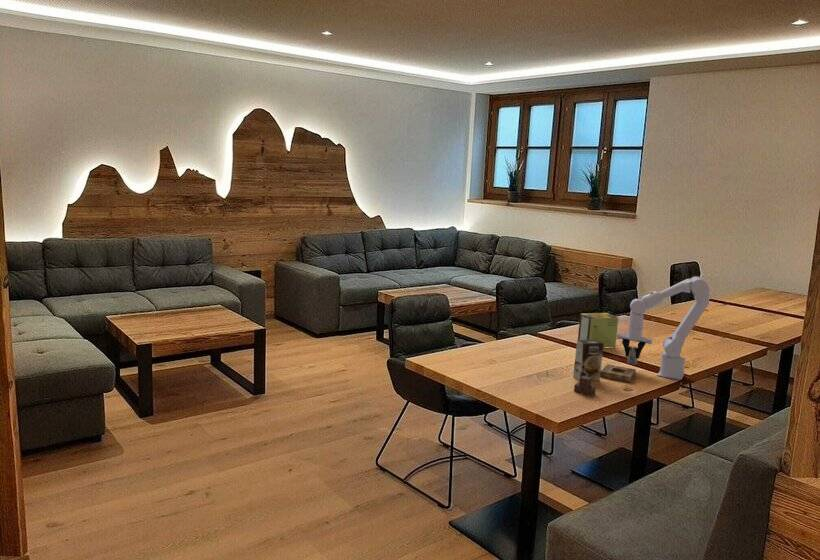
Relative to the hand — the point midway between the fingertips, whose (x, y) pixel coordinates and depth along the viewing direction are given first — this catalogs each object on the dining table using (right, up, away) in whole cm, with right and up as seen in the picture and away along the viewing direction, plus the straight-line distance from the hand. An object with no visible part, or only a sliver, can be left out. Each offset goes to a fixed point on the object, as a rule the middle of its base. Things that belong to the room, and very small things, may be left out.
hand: (632, 357), depth 277 cm
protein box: (-4, +1, +39) cm, 39 cm away
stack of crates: (-28, -11, -28) cm, 41 cm away
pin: (0, -3, 0) cm, 3 cm away
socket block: (-9, -7, -7) cm, 13 cm away
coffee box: (-23, -8, -12) cm, 27 cm away
